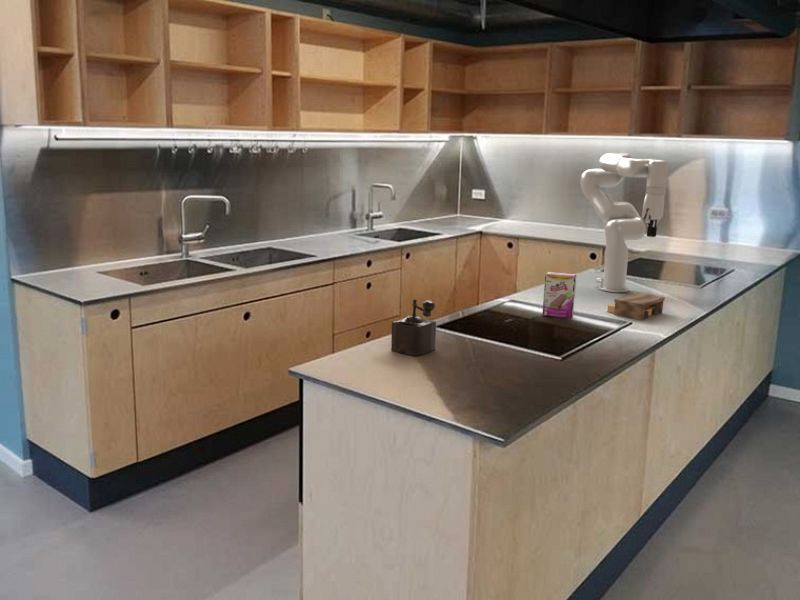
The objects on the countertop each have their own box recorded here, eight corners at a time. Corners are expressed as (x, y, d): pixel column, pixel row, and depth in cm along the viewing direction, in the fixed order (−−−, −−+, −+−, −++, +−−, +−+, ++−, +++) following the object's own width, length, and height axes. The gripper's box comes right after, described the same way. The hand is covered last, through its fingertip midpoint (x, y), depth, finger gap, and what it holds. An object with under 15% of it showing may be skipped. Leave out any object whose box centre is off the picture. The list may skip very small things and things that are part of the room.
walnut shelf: (613, 314, 276) (614, 299, 275) (635, 307, 288) (637, 292, 287) (641, 320, 268) (642, 304, 267) (663, 312, 280) (664, 297, 279)
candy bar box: (542, 316, 272) (544, 273, 268) (543, 313, 277) (546, 271, 273) (572, 319, 268) (575, 276, 265) (573, 316, 273) (576, 273, 269)
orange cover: (607, 311, 281) (607, 305, 280) (622, 307, 289) (623, 300, 288) (641, 318, 271) (641, 311, 270) (655, 313, 279) (656, 306, 279)
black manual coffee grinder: (388, 351, 226) (389, 295, 222) (410, 343, 235) (411, 289, 230) (428, 361, 217) (429, 303, 213) (449, 352, 225) (451, 296, 221)
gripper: (655, 189, 297) (651, 233, 302) (638, 191, 287) (633, 237, 291) (673, 191, 292) (668, 236, 296) (655, 192, 282) (651, 239, 286)
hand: (651, 236), depth 294 cm, fingers closed
